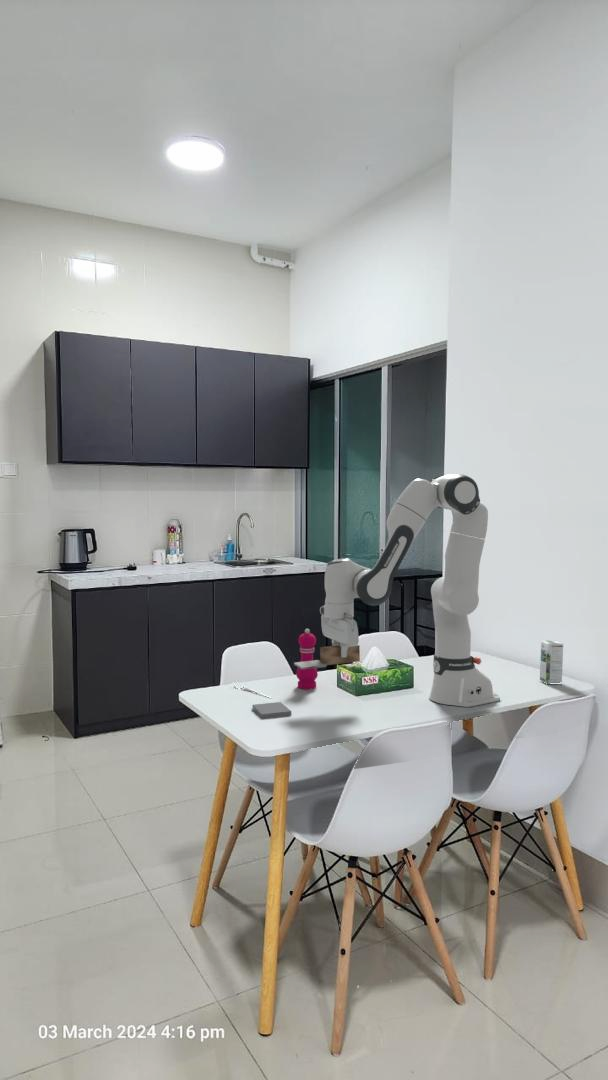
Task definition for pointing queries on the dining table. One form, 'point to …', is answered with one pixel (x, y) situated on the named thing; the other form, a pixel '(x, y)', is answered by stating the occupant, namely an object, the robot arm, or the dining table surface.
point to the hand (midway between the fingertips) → (340, 655)
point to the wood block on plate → (331, 657)
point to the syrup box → (551, 661)
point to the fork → (246, 688)
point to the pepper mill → (307, 650)
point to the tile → (271, 710)
